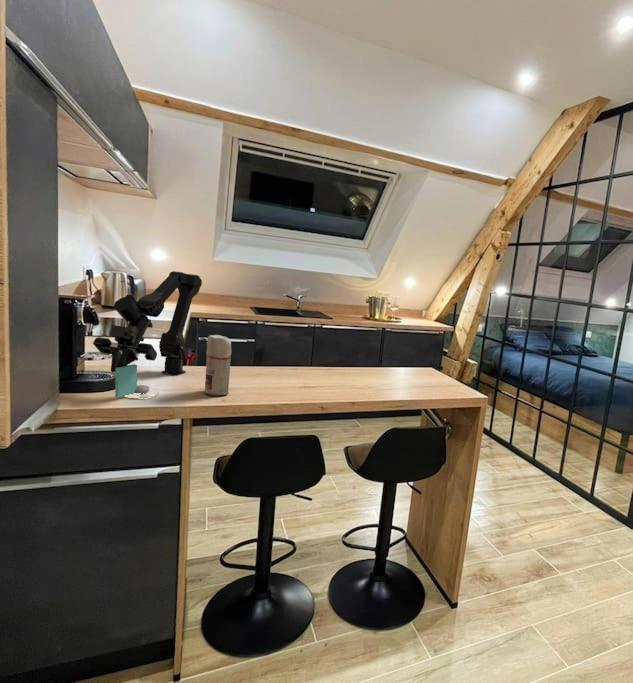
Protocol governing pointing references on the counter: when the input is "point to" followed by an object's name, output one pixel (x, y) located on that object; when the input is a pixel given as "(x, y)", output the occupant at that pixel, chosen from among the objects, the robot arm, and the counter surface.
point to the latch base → (149, 393)
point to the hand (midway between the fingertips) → (113, 372)
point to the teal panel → (128, 381)
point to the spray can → (217, 365)
